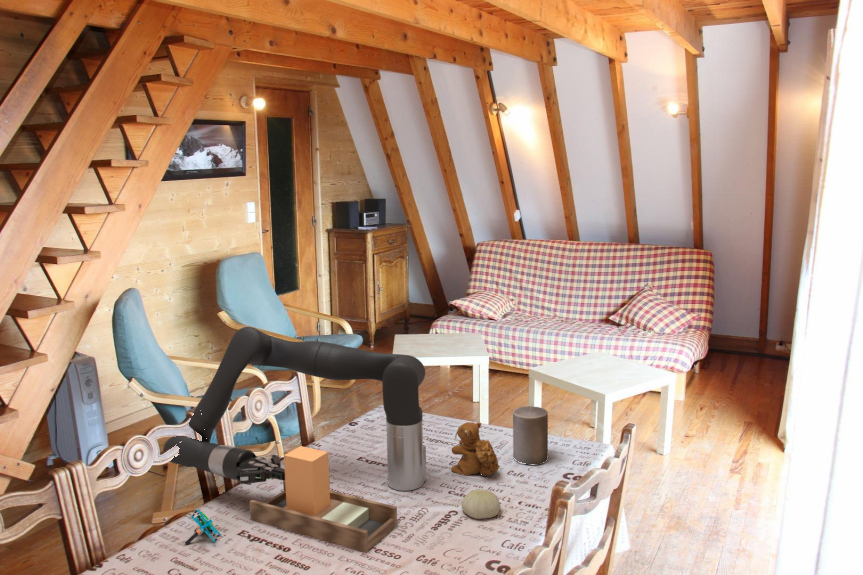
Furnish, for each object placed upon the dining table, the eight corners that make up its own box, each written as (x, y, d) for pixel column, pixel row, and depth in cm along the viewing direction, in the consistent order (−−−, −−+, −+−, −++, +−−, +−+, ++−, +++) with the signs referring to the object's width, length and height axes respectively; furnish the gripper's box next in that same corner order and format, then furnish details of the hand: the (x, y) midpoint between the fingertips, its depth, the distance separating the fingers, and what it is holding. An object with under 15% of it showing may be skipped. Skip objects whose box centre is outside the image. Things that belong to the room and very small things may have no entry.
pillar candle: (553, 456, 196) (553, 404, 194) (539, 468, 188) (539, 415, 186) (521, 449, 202) (521, 399, 199) (506, 461, 194) (506, 409, 191)
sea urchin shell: (505, 496, 169) (500, 484, 162) (499, 529, 164) (494, 518, 158) (468, 491, 172) (462, 479, 165) (462, 523, 167) (455, 512, 161)
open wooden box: (250, 519, 163) (249, 501, 162) (286, 496, 174) (285, 479, 173) (365, 552, 148) (365, 532, 147) (397, 525, 159) (396, 506, 159)
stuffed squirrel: (469, 458, 196) (469, 413, 194) (509, 473, 186) (509, 426, 184) (445, 469, 189) (444, 423, 186) (485, 485, 179) (485, 436, 177)
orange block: (286, 508, 162) (283, 455, 160) (302, 497, 167) (300, 446, 165) (314, 515, 158) (312, 461, 156) (330, 504, 163) (328, 452, 161)
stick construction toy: (223, 536, 151) (199, 510, 150) (197, 561, 149) (172, 534, 148) (222, 526, 162) (200, 501, 162) (198, 548, 160) (175, 524, 159)
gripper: (211, 457, 166) (268, 471, 158) (249, 438, 177) (304, 450, 169) (213, 487, 167) (269, 502, 159) (251, 466, 179) (306, 479, 171)
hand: (287, 475), depth 164 cm, fingers closed
